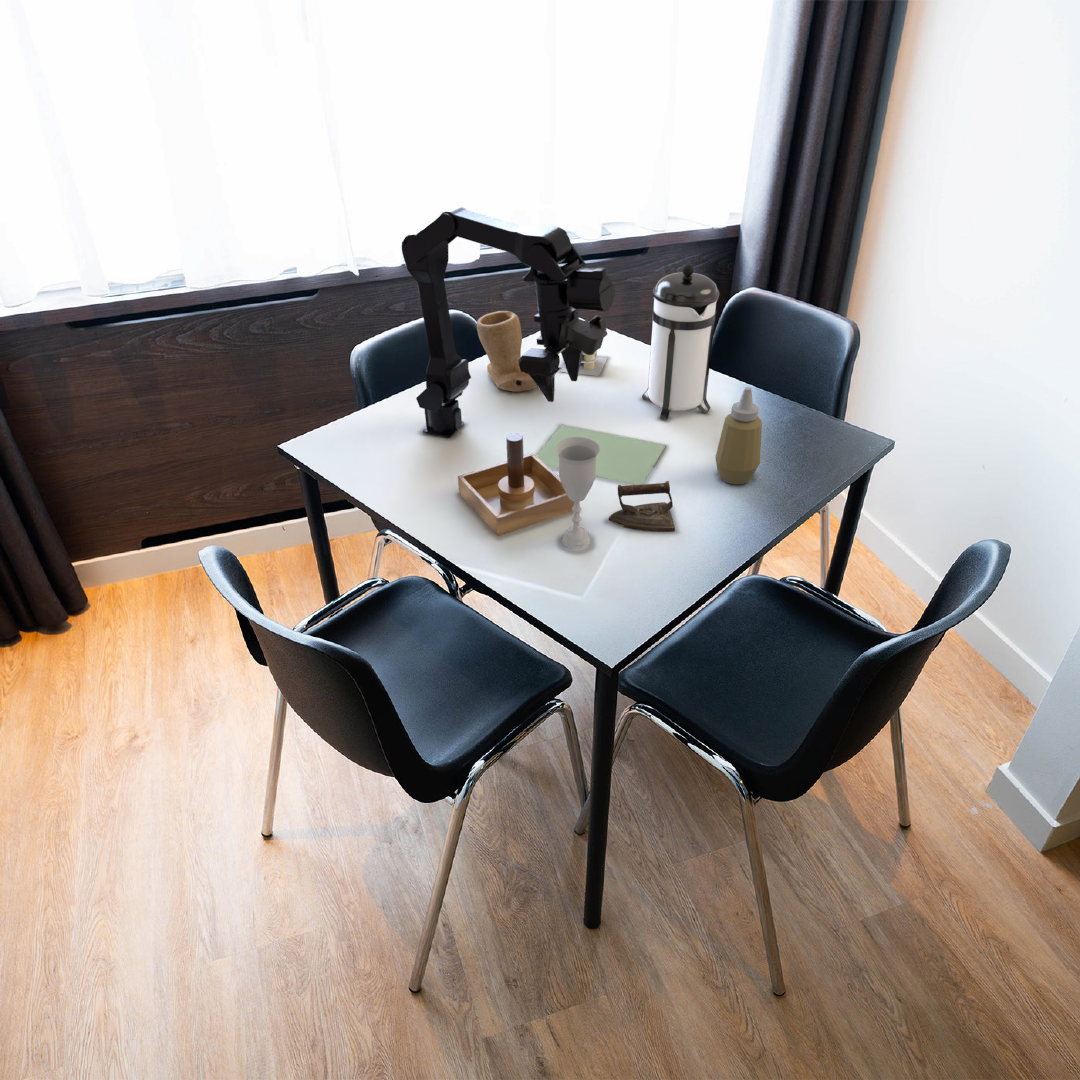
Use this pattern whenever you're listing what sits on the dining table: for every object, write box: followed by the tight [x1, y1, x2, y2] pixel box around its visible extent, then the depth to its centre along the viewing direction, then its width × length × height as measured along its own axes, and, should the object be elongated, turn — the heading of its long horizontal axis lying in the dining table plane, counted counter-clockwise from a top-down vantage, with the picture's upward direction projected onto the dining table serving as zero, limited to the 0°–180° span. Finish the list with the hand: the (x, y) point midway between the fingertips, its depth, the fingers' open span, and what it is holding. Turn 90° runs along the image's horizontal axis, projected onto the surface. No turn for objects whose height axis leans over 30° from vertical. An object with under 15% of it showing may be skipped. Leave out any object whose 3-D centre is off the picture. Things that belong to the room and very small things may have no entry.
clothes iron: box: [608, 480, 676, 533], centre depth 143 cm, size 7×11×10 cm, turn 92°
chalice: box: [556, 437, 600, 550], centre depth 135 cm, size 7×7×18 cm
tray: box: [457, 452, 574, 537], centre depth 149 cm, size 15×15×4 cm
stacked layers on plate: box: [559, 350, 608, 377], centre depth 194 cm, size 10×9×6 cm
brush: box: [498, 432, 535, 510], centre depth 146 cm, size 6×6×13 cm
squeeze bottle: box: [714, 386, 763, 485], centre depth 151 cm, size 8×8×18 cm
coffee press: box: [641, 263, 720, 421], centre depth 171 cm, size 17×16×30 cm
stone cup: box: [476, 310, 539, 393], centre depth 185 cm, size 15×12×15 cm
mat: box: [535, 424, 667, 485], centre depth 163 cm, size 22×16×1 cm
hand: (562, 391), depth 153 cm, fingers open, 9 cm apart
